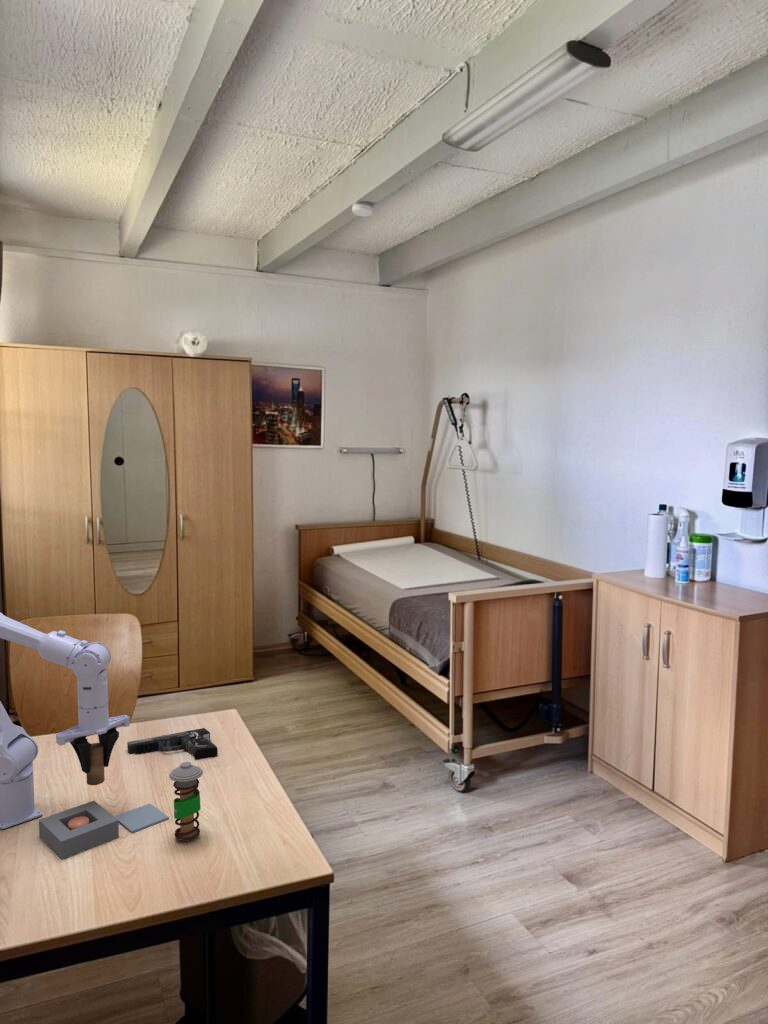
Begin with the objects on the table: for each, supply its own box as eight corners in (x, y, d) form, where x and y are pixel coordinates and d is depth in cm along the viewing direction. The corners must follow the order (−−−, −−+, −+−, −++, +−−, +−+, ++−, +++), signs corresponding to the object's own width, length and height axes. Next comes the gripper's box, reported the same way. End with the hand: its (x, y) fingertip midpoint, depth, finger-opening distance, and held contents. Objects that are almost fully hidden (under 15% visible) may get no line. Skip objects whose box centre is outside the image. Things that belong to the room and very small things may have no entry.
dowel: (84, 781, 151) (82, 746, 150) (100, 776, 154) (99, 741, 153) (91, 786, 149) (89, 751, 148) (107, 781, 151) (106, 746, 150)
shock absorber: (169, 832, 146) (167, 759, 145) (201, 826, 148) (200, 755, 147) (172, 849, 140) (170, 773, 139) (206, 842, 142) (204, 768, 141)
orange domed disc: (65, 827, 144) (64, 821, 144) (84, 820, 147) (84, 814, 146) (73, 834, 141) (72, 828, 141) (92, 827, 144) (92, 821, 144)
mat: (113, 818, 151) (113, 816, 151) (150, 805, 157) (149, 803, 157) (132, 833, 146) (132, 831, 146) (168, 818, 151) (168, 816, 151)
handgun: (133, 760, 172) (126, 737, 185) (133, 774, 173) (126, 750, 185) (218, 745, 181) (206, 724, 193) (218, 758, 181) (206, 736, 194)
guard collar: (39, 836, 144) (38, 819, 144) (94, 816, 152) (93, 800, 152) (62, 859, 136) (61, 841, 136) (118, 837, 144) (118, 820, 144)
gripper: (65, 719, 142) (68, 786, 143) (136, 700, 152) (137, 763, 153) (50, 709, 146) (53, 774, 148) (119, 691, 157) (121, 753, 158)
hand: (95, 768), depth 151 cm, fingers closed on dowel, 3 cm apart
